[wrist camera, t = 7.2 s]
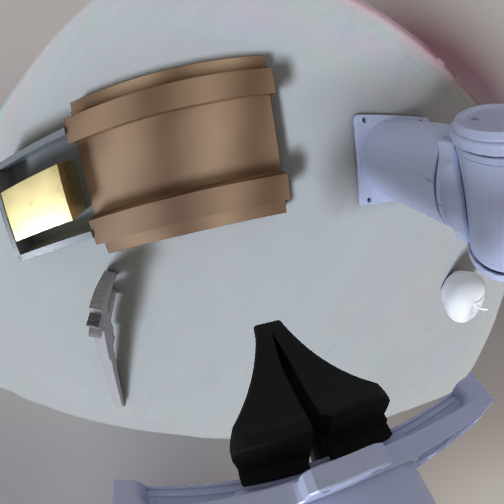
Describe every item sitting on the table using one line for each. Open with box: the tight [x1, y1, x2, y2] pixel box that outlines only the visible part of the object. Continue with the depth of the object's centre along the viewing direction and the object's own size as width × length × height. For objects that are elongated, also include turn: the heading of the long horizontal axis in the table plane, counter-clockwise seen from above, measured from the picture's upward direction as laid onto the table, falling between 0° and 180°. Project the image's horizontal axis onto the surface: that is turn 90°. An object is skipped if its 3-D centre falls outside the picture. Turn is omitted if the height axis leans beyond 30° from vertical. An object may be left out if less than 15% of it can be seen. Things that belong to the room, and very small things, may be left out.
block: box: [1, 159, 87, 242], centre depth 15 cm, size 6×4×3 cm, turn 99°
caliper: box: [86, 271, 124, 408], centre depth 22 cm, size 20×1×6 cm, turn 165°
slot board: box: [64, 55, 291, 253], centre depth 17 cm, size 14×12×3 cm
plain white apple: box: [441, 271, 489, 323], centre depth 27 cm, size 7×7×8 cm
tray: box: [0, 128, 95, 262], centre depth 16 cm, size 8×8×3 cm
